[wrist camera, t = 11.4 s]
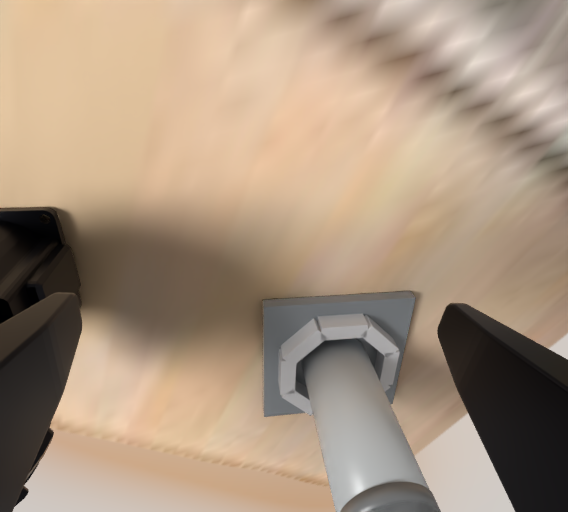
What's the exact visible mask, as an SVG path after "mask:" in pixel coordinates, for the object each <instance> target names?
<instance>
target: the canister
mask: <svg viewBox="0 0 568 512" xmlns="http://www.w3.org/2000/svg"><path fill="white" fill-rule="evenodd" d="M302 369H303V373H304V378H305V382H306V386H307V390H308V395H309V399H310V403H311V408H312V412H313V416H314V420H315V425H316V429H317V433H318V437H319V442H320V446H321V450H322V455H323V459H324V463H325V467H326V472H327V476H328V480H329V485H330V489H331V493H332V497H333V501H334V506H335V510H336V512H441V511H440V509H439V507H438V505H437V502H436V500H435V498H434V496H433V494H432V492H431V491H430V490H429V488H428V485H427V483H426V481H425V479H424V477H423V474H422V472H421V470H420V468H419V466H418V463H417V461H416V459H415V457H414V455H413V453H412V450H411V448H410V446H409V444H408V442H407V439H406V437H405V435H404V433H403V431H402V429H401V426H400V424H399V422H398V420H397V418H396V415H395V413H394V411H393V409H392V407H391V404H390V402H389V400H388V398H387V396H386V394H385V391H384V389H383V387H382V385H381V383H380V380H379V378H378V376H377V374H376V372H375V370H374V367H373V365H372V363H371V361H370V359H369V356H368V354H367V352H366V350H365V348H364V346H363V345H362V343H361V342H360V341H358V340H357V339H355V338H350V339H337V340H325V341H323V342H322V343H321V344H320V345H318V346H317V347H316V348H315V349H314V350H312V351H311V352H310V353H309V354H307V355H306V356H305V357H304V358H303V360H302Z"/></svg>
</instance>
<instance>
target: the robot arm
mask: <svg viewBox="0 0 568 512" xmlns="http://www.w3.org/2000/svg"><path fill="white" fill-rule="evenodd" d="M43 215H47V216H49V218H50V221H48V220H45V219H44V218H43ZM80 286H81V283H80V280H79V276H78V272H77V268H76V265H75V261H74V257H73V253H72V250H71V248H70V247H69V246H68V245H67V244H66V243H65V239H64V236H63V232H62V228H61V225H60V221H59V217H58V215H57V213H56V212H55V211H54V210H53V209H51V208H47V207H37V208H0V512H12V511H13V509H14V507H15V506H16V505H17V504H18V503H19V502H21V501H22V500H23V499H24V498H25V496H26V495H27V494H28V489H27V488H26V487H25V486H24V485H25V483H26V482H27V480H29V478H30V477H31V475H32V474H33V472H34V470H35V469H36V467H37V465H38V463H39V461H40V460H41V459H42V457H43V456H44V454H45V452H46V450H47V448H48V446H49V444H50V443H51V440H52V437H53V434H54V432H53V430H52V429H51V428H50V424H51V421H52V418H53V416H54V414H55V411H56V409H57V407H58V405H59V402H60V400H61V397H62V395H63V392H64V389H65V386H66V383H67V379H68V376H69V372H70V369H71V365H72V362H73V359H74V355H75V352H76V348H77V345H78V342H79V338H80V335H81V331H82V319H81V313H80V307H81V305H82V302H81V298H80V294H79V291H78V289H79V288H80ZM438 338H439V341H440V344H441V346H442V349H443V352H444V355H445V358H446V360H447V363H448V366H449V369H450V372H451V374H452V377H453V380H454V382H455V385H456V388H457V390H458V392H459V394H460V397H461V399H462V401H463V403H464V405H465V407H466V409H467V411H468V413H469V415H470V418H471V420H472V422H473V424H474V426H475V428H476V430H477V432H478V434H479V436H480V439H481V441H482V443H483V445H484V447H485V449H486V451H487V453H488V455H489V457H490V459H491V462H492V463H493V466H494V468H495V470H496V472H497V474H498V476H499V478H500V480H501V482H502V484H503V487H504V489H505V491H506V493H507V495H508V497H509V499H510V501H511V503H512V505H513V508H514V510H515V512H568V360H567V359H566V358H564V357H562V356H560V355H558V354H556V353H555V352H553V351H551V350H549V349H547V348H545V347H544V346H542V345H540V344H538V343H536V342H535V341H533V340H531V339H529V338H527V337H525V336H524V335H522V334H520V333H518V332H516V331H514V330H513V329H511V328H509V327H507V326H505V325H504V324H502V323H500V322H498V321H496V320H494V319H493V318H491V317H489V316H487V315H485V314H483V313H482V312H480V311H478V310H476V309H474V308H472V307H471V306H469V305H467V304H464V303H450V304H448V305H447V307H446V309H445V311H444V314H443V316H442V319H441V321H440V324H439V326H438Z"/></svg>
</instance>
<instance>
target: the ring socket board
mask: <svg viewBox="0 0 568 512" xmlns="http://www.w3.org/2000/svg"><path fill="white" fill-rule="evenodd" d="M415 299H416V297H415V296H414V295H413V293H412V292H411V291H401V292H385V293H368V294H351V295H335V296H318V297H301V298H285V299H268V300H263V411H264V417H268V416H278V415H288V414H298V413H307V414H309V415H310V416H311V415H312V414H313V412H312V408H311V403H310V399H309V395H308V390H307V386H306V382H305V378H304V373H303V369H302V360H303V358H304V357H305V356H306V355H307V354H309V353H310V352H311V351H312V350H314V349H315V348H316V347H317V346H318V345H320V344H321V343H322V342H323V341H325V340H337V339H350V338H355V339H357V340H358V341H360V342H361V343H362V345H363V346H364V348H365V350H366V352H367V354H368V356H369V359H370V361H371V363H372V365H373V367H374V370H375V372H376V374H377V376H378V378H379V380H380V383H381V385H382V387H383V389H384V391H385V394H386V396H387V398H388V400H389V402H390V404H392V403H393V399H394V394H395V390H396V385H397V381H398V376H399V372H400V367H401V363H402V358H403V353H404V349H405V344H406V340H407V335H408V331H409V326H410V322H411V317H412V313H413V308H414V304H415Z"/></svg>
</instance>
